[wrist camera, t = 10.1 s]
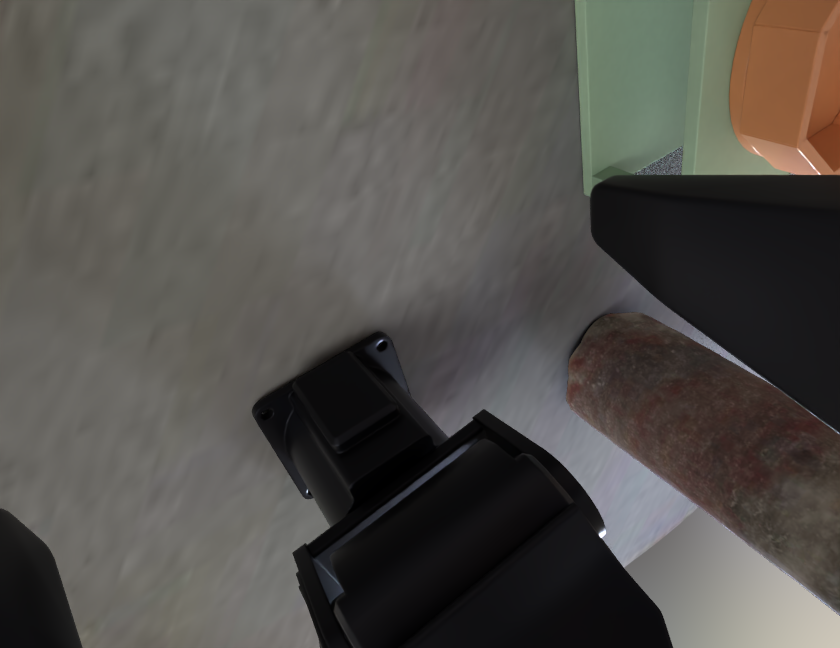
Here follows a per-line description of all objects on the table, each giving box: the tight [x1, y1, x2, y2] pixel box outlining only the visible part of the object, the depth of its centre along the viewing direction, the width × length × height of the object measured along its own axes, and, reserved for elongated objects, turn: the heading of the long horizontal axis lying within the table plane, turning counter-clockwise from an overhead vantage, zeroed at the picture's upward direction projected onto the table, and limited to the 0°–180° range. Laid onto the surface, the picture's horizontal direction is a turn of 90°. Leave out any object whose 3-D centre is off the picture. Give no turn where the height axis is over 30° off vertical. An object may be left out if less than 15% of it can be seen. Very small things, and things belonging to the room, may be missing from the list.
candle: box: [566, 312, 840, 616], centre depth 29 cm, size 8×7×20 cm
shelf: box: [575, 0, 790, 197], centre depth 24 cm, size 12×12×6 cm
